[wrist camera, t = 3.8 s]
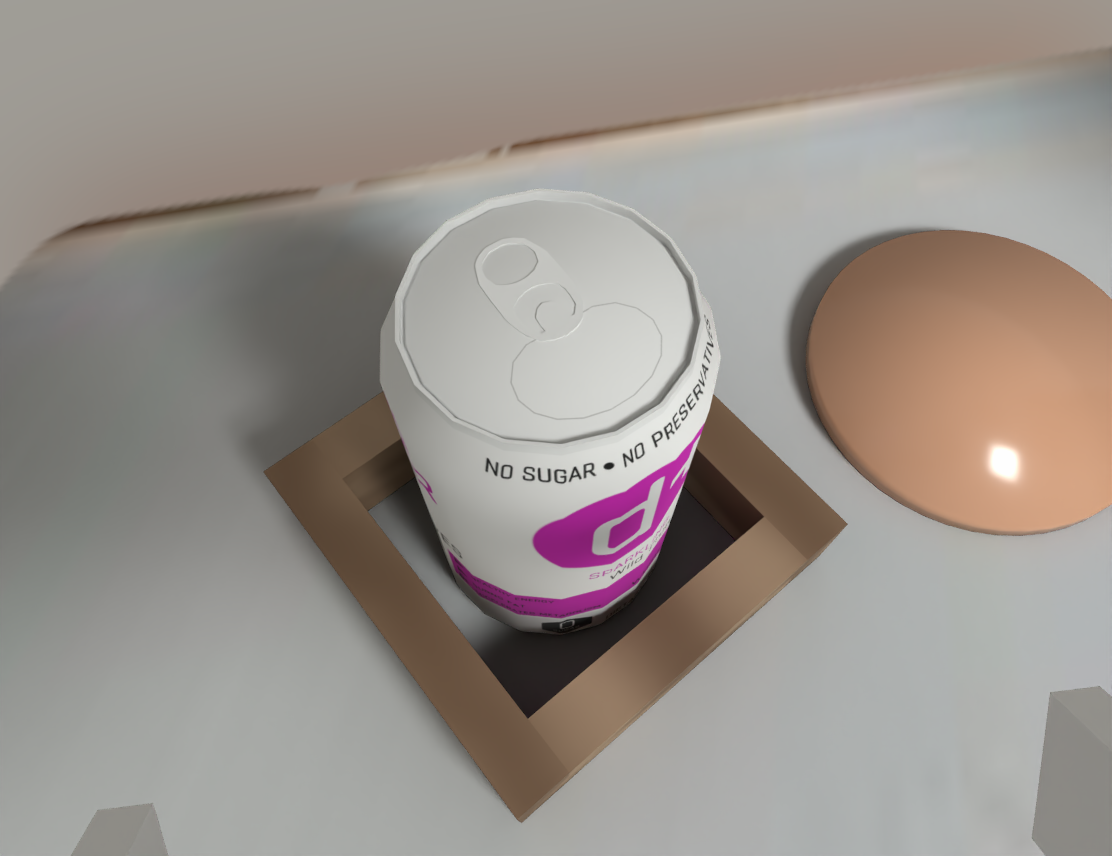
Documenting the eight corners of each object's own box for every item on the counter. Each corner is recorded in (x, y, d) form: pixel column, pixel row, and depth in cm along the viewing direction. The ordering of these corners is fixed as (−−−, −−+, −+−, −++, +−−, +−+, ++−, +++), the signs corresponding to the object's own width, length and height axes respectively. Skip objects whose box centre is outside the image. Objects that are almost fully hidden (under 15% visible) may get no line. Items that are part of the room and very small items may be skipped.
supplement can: (702, 556, 32) (808, 345, 19) (520, 684, 30) (491, 550, 16) (578, 401, 35) (592, 122, 22) (405, 507, 33) (301, 271, 19)
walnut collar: (574, 311, 37) (576, 261, 34) (819, 556, 32) (847, 523, 29) (291, 507, 33) (263, 471, 30) (521, 822, 28) (517, 819, 25)
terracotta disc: (947, 196, 40) (956, 181, 39) (1215, 397, 35) (1233, 385, 34) (736, 358, 36) (741, 345, 35) (1006, 609, 31) (1020, 602, 30)
